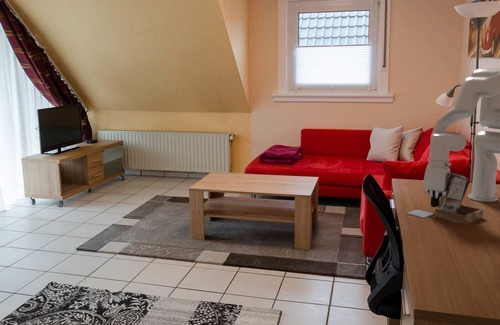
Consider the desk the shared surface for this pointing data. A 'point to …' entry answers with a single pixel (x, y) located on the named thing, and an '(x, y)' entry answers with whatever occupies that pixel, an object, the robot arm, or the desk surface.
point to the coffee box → (454, 193)
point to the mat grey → (420, 213)
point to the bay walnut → (470, 216)
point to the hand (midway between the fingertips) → (434, 206)
